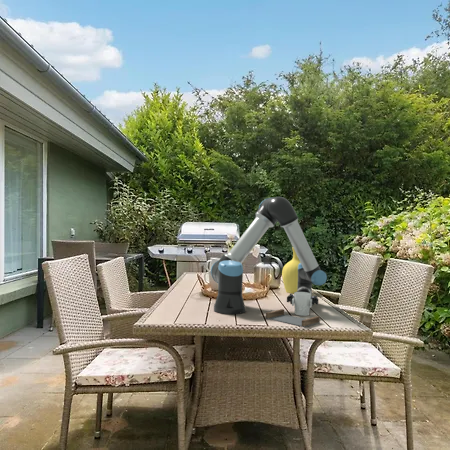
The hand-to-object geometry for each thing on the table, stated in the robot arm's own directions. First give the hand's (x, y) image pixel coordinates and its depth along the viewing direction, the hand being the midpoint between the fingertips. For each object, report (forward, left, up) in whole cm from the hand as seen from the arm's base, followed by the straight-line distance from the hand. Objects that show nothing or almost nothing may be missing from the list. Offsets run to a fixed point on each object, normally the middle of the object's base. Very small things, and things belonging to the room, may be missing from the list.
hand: (301, 303), depth 187 cm
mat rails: (+2, -10, -6) cm, 12 cm away
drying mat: (+2, -10, -6) cm, 12 cm away
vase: (-40, +55, -6) cm, 68 cm away
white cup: (-2, +4, -6) cm, 8 cm away
